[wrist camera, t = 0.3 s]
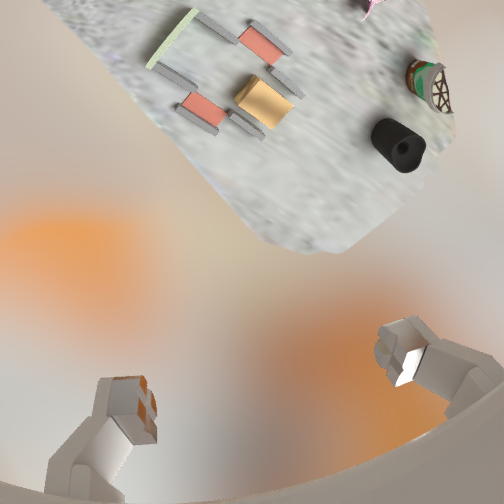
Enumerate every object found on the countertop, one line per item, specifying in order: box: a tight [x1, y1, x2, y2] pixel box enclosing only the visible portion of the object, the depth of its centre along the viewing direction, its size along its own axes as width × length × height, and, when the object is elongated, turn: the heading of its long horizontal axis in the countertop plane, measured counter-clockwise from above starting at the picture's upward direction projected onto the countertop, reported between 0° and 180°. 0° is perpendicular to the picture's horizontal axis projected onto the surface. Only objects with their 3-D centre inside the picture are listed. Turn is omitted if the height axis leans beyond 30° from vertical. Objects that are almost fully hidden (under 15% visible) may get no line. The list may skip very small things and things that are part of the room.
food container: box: [406, 60, 454, 114], centre depth 48 cm, size 12×6×10 cm, turn 30°
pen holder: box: [372, 119, 426, 173], centre depth 58 cm, size 9×9×10 cm
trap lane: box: [145, 7, 306, 141], centre depth 45 cm, size 22×26×5 cm
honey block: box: [234, 75, 293, 129], centre depth 50 cm, size 6×8×5 cm
